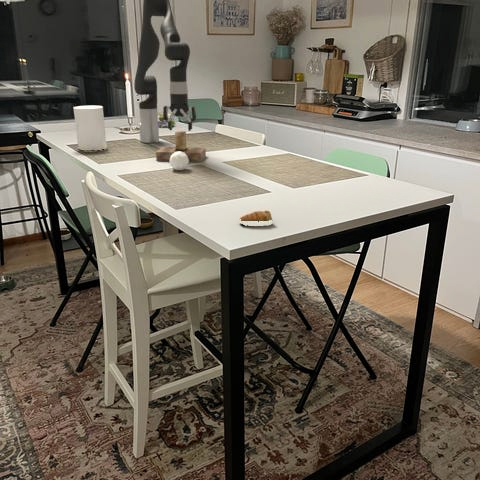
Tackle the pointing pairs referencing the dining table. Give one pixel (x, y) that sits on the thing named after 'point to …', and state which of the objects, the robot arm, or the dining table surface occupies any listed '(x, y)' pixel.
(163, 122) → the passion flower
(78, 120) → the canister
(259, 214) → the pastry
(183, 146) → the peg
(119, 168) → the dining table surface
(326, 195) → the dining table surface
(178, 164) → the ball
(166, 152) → the board
